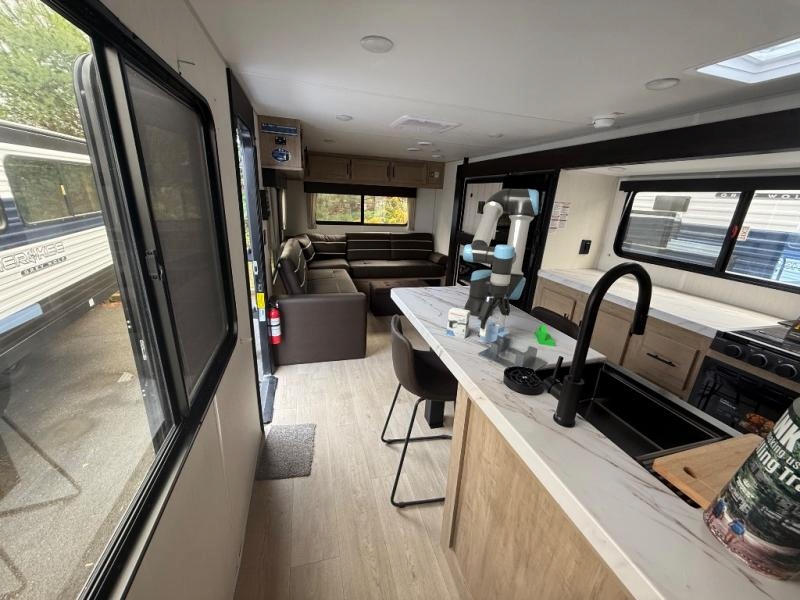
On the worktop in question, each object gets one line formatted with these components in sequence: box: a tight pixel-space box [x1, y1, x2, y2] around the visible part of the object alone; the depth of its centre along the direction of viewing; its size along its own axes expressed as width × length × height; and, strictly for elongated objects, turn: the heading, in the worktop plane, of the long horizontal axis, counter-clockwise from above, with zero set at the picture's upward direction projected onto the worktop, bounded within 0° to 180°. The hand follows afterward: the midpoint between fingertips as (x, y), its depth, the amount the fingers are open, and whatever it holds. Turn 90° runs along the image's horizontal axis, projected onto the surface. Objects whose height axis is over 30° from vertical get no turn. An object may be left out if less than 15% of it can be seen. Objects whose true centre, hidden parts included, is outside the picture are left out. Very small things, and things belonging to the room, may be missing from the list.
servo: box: [476, 319, 510, 345], centre depth 131 cm, size 5×13×9 cm, turn 41°
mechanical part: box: [534, 324, 556, 347], centre depth 136 cm, size 12×6×8 cm, turn 165°
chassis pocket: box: [477, 336, 548, 372], centre depth 117 cm, size 16×20×6 cm
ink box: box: [445, 306, 471, 340], centre depth 135 cm, size 8×5×12 cm, turn 62°
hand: (491, 332), depth 130 cm, fingers open, 13 cm apart
